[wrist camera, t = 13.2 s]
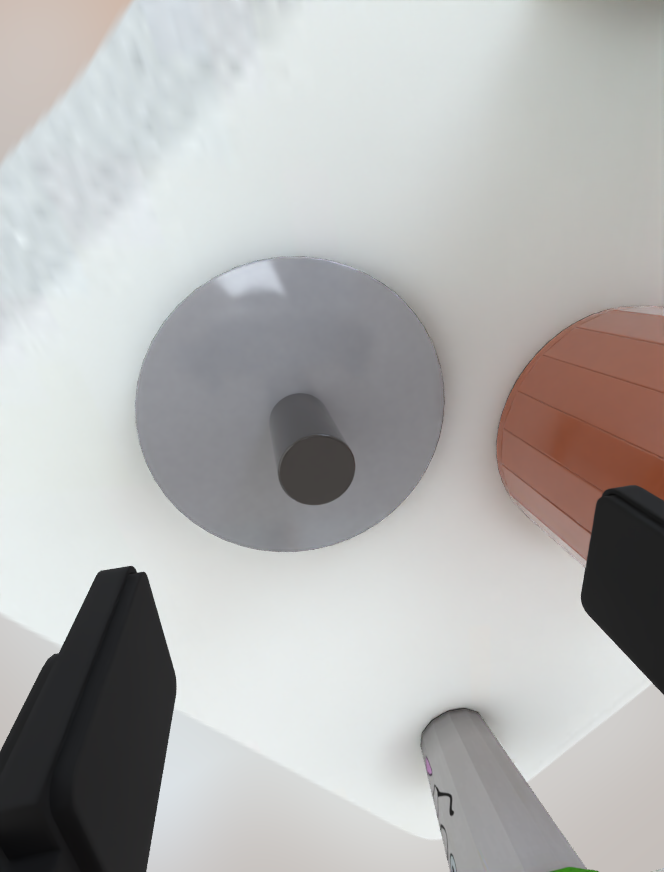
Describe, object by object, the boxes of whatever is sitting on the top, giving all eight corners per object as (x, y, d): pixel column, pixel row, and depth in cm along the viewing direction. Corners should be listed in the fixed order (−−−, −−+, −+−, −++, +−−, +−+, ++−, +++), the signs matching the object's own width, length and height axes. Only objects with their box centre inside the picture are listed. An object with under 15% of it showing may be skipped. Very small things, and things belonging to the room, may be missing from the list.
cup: (388, 712, 29) (524, 1128, 15) (502, 675, 29) (732, 1038, 16) (405, 787, 32) (531, 1189, 18) (508, 751, 32) (706, 1110, 19)
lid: (435, 244, 19) (518, 236, 13) (433, 514, 24) (493, 593, 18) (104, 271, 17) (37, 277, 11) (176, 559, 22) (153, 663, 16)
